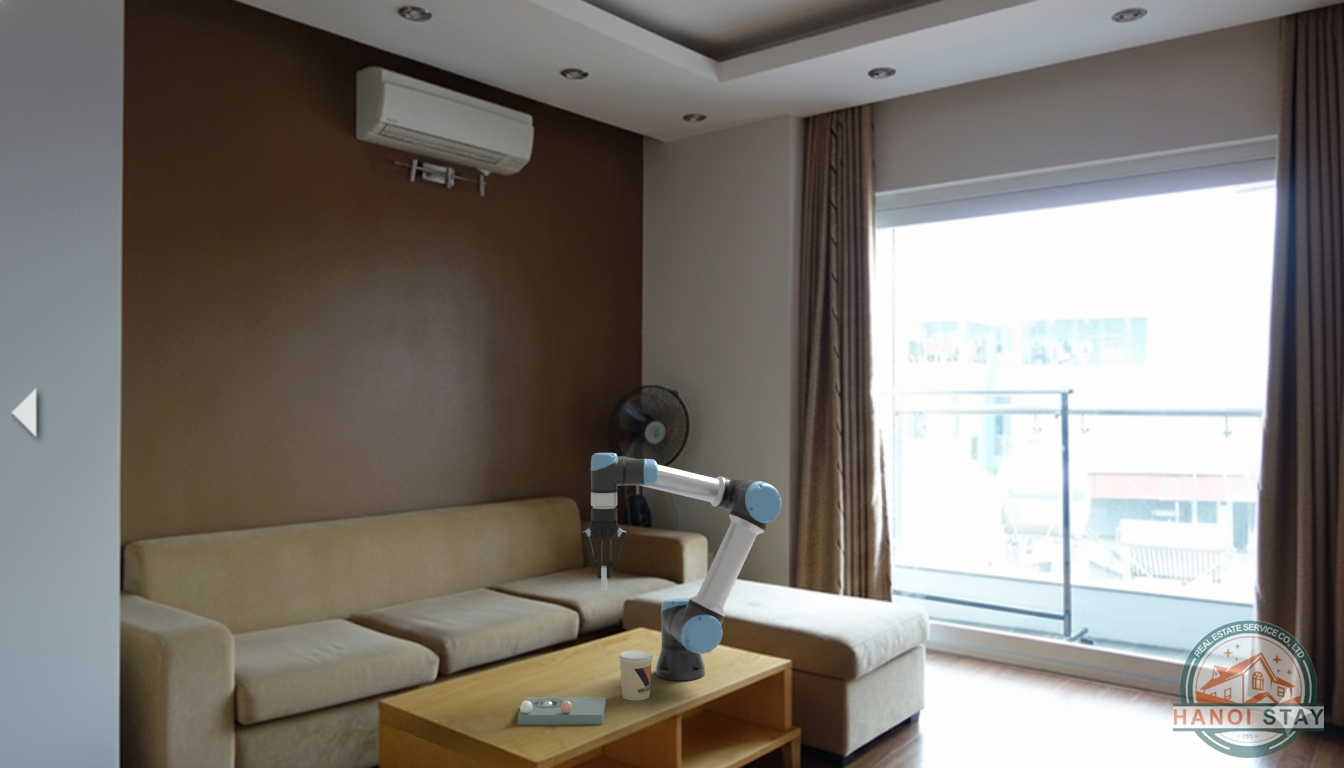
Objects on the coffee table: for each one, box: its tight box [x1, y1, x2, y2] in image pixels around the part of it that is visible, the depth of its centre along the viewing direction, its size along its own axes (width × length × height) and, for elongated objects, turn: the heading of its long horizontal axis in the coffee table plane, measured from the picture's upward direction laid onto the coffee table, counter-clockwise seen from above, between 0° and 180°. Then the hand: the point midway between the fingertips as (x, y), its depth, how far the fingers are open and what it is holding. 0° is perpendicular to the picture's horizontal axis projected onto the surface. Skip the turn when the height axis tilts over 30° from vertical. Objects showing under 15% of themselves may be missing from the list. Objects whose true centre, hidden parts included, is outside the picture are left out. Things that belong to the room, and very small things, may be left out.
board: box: [517, 696, 607, 726], centre depth 257 cm, size 22×15×2 cm
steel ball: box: [542, 701, 553, 706], centre depth 258 cm, size 3×3×3 cm
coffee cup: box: [618, 649, 653, 701], centre depth 273 cm, size 9×9×12 cm
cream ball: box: [519, 700, 532, 713], centre depth 251 cm, size 3×3×3 cm
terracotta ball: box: [560, 700, 572, 713], centre depth 251 cm, size 3×3×3 cm
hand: (604, 589), depth 273 cm, fingers closed
